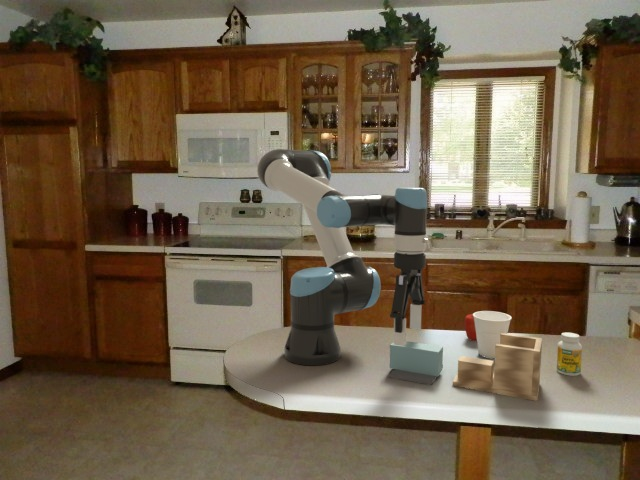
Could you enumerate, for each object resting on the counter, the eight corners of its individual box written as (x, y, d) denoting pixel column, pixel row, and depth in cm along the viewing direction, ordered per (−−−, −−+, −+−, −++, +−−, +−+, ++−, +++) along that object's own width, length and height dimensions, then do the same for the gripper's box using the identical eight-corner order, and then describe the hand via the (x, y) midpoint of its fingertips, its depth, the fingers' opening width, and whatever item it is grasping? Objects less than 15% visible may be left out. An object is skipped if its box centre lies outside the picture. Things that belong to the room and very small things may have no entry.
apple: (489, 339, 149) (490, 314, 148) (480, 344, 144) (481, 319, 143) (470, 334, 153) (470, 311, 152) (460, 339, 149) (461, 314, 148)
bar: (389, 368, 124) (390, 344, 123) (395, 362, 128) (395, 339, 127) (438, 376, 119) (438, 352, 118) (442, 370, 123) (442, 346, 122)
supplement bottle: (578, 369, 125) (580, 332, 124) (582, 377, 120) (585, 339, 119) (554, 367, 127) (557, 330, 126) (558, 375, 122) (560, 336, 121)
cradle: (452, 385, 115) (454, 339, 114) (460, 370, 124) (462, 327, 123) (537, 400, 107) (539, 351, 106) (539, 383, 116) (542, 338, 115)
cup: (512, 363, 130) (514, 321, 128) (473, 360, 132) (474, 319, 130) (506, 350, 139) (508, 311, 138) (469, 347, 141) (471, 309, 140)
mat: (389, 377, 120) (389, 374, 120) (404, 361, 131) (404, 358, 131) (431, 385, 116) (431, 381, 116) (442, 367, 126) (442, 364, 126)
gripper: (410, 260, 108) (408, 354, 110) (437, 246, 130) (435, 325, 133) (377, 257, 111) (376, 349, 114) (409, 244, 133) (407, 321, 136)
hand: (407, 336), depth 123 cm, fingers open, 13 cm apart
